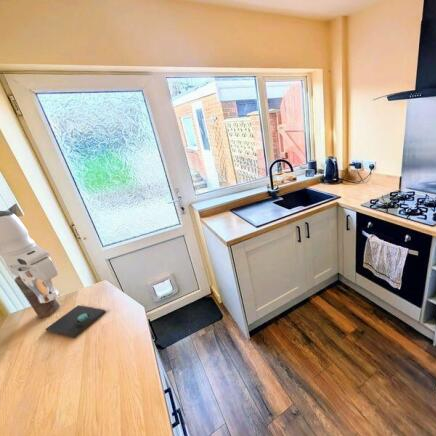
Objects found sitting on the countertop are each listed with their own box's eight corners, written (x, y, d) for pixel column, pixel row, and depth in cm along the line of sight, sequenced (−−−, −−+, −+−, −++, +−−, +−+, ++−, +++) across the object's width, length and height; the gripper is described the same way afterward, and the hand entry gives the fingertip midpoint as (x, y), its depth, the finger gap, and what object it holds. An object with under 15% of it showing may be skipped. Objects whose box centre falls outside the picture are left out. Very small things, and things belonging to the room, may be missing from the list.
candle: (54, 304, 114) (31, 268, 105) (64, 306, 111) (41, 270, 103) (35, 316, 107) (8, 280, 99) (45, 319, 105) (19, 282, 97)
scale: (46, 331, 99) (42, 326, 97) (79, 307, 110) (76, 302, 108) (75, 338, 94) (71, 332, 93) (106, 312, 105) (103, 307, 104)
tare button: (77, 321, 98) (75, 318, 98) (84, 315, 101) (83, 312, 100) (82, 322, 97) (80, 319, 97) (90, 316, 100) (88, 313, 99)
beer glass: (43, 294, 97) (22, 263, 90) (64, 289, 99) (45, 258, 92) (33, 306, 91) (10, 273, 84) (56, 300, 93) (35, 268, 86)
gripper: (-8, 257, 87) (14, 287, 92) (29, 261, 81) (51, 294, 86) (14, 247, 92) (34, 277, 98) (51, 251, 86) (70, 282, 92)
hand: (42, 285), depth 92 cm, fingers closed on beer glass, 6 cm apart
